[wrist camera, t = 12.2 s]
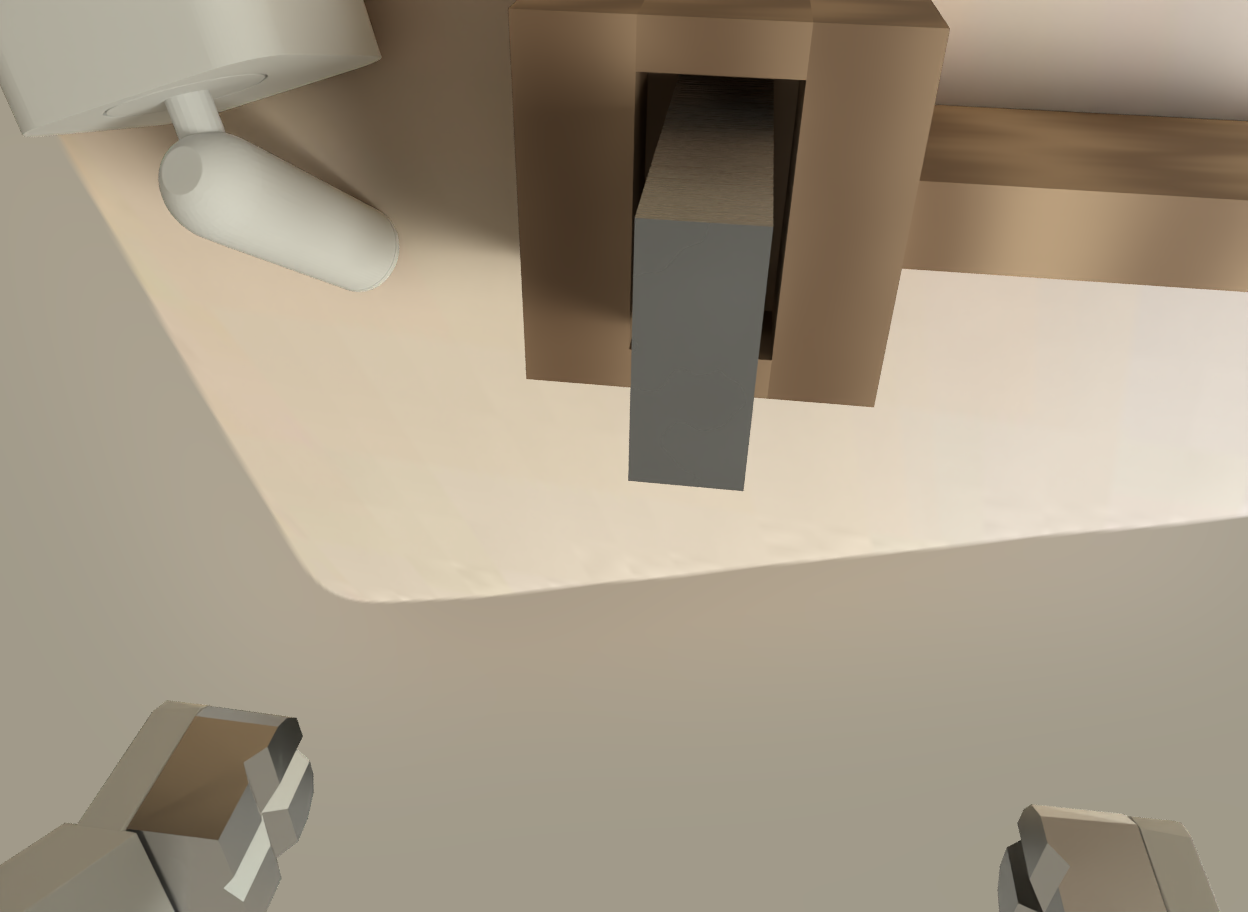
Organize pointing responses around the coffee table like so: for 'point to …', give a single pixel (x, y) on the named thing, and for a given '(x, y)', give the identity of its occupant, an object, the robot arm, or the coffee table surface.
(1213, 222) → the slotted wooden socket block
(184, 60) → the wall hook
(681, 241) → the grey wood block
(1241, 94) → the coffee table surface
